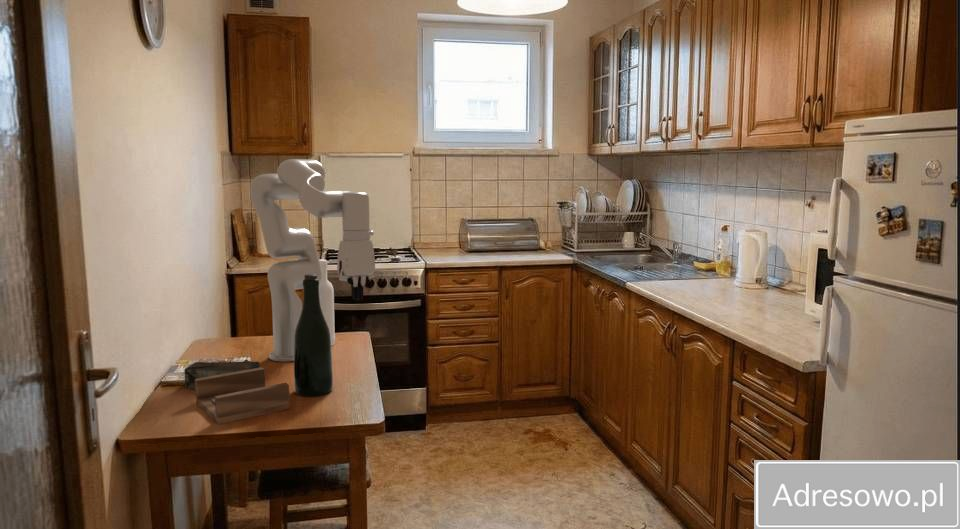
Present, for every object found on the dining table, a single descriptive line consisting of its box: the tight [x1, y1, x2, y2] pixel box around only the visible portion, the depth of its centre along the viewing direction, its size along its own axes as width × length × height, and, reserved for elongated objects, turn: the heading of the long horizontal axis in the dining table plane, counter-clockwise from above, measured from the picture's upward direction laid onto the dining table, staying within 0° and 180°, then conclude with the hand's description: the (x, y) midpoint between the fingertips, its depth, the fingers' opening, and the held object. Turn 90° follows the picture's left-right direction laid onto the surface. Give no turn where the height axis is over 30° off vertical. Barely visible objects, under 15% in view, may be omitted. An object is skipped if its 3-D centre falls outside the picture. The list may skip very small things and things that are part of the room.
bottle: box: [319, 258, 336, 347], centre depth 239 cm, size 8×8×30 cm
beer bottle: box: [293, 274, 334, 397], centre depth 189 cm, size 10×10×33 cm
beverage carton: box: [183, 360, 260, 390], centre depth 196 cm, size 8×19×7 cm, turn 91°
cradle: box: [194, 367, 290, 425], centre depth 179 cm, size 19×18×6 cm
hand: (357, 299), depth 197 cm, fingers closed
